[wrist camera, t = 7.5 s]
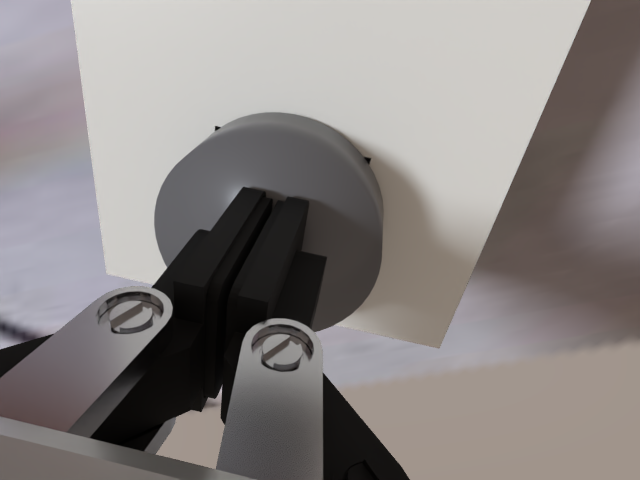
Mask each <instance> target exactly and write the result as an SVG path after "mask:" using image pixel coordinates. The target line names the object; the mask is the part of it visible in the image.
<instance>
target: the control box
mask: <svg viewBox="0 0 640 480" xmlns="http://www.w3.org/2000/svg"><path fill="white" fill-rule="evenodd" d="M590 2H591V0H71V6H72V13H73V21H74V29H75V36H76V44H77V52H78V59H79V67H80V75H81V82H82V90H83V97H84V105H85V113H86V120H87V128H88V136H89V143H90V151H91V159H92V166H93V174H94V182H95V189H96V197H97V205H98V212H99V220H100V228H101V235H102V243H103V251H104V258H105V266H106V274H109V275H113V276H117V277H122V278H126V279H131V280H135V281H140V282H144V283H149V284H153V285H154V284H155V283H156V281H157V280H158V279H159V278H160V276H161V275H162V274H163V273H164V271H165V270H166V269H167V266H166V265H165V263H164V261H163V258H162V256H161V253H160V251H159V248H158V244H157V240H156V236H155V227H154V211H155V206H156V200H157V197H158V194H159V191H160V188H161V186H162V184H163V182H164V181H165V179H166V177H167V175H168V174H169V173H170V171H171V170H172V169H173V168H174V166H175V165H176V164H177V163H178V162H179V161H181V160H182V159H183V158H184V157H185V156H186V155H187V154H188V153H190V152H191V151H192V150H193V149H194V148H196V147H197V146H198V145H199V144H200V143H202V142H203V141H204V140H205V139H206V138H208V137H209V136H210V135H211V134H212V133H214V132H215V131H216V130H217V129H219V128H221V127H222V126H224V125H225V124H227V123H229V122H231V121H233V120H235V119H238V118H241V117H244V116H248V115H251V114H257V113H265V112H282V113H289V114H296V115H299V116H303V117H307V118H310V119H313V120H315V121H317V122H320V123H322V124H324V125H326V126H328V127H329V128H331V129H333V130H335V131H336V132H338V133H339V134H340V135H342V136H343V137H344V138H346V139H347V140H348V141H349V142H350V143H351V144H352V145H353V146H354V147H355V148H356V149H357V150H358V151H359V152H360V153H361V154H362V156H363V157H364V158H365V160H366V161H367V162H368V164H369V166H370V167H371V169H372V171H373V173H374V174H375V177H376V179H377V182H378V184H379V187H380V191H381V195H382V199H383V209H384V218H383V243H382V262H381V267H380V272H379V275H378V278H377V281H376V283H375V286H374V287H373V289H372V291H371V293H370V294H369V296H368V297H367V299H366V300H365V301H364V302H363V304H362V305H361V306H360V307H359V308H358V309H357V310H356V311H355V312H353V313H352V314H351V315H350V316H348V317H347V318H345V319H344V320H343V321H341V322H339V323H337V324H335V325H337V326H341V327H346V328H350V329H355V330H359V331H364V332H368V333H372V334H377V335H381V336H386V337H390V338H395V339H399V340H404V341H408V342H413V343H417V344H422V345H426V346H431V347H435V348H440V346H441V343H442V341H443V339H444V337H445V334H446V332H447V330H448V327H449V325H450V323H451V320H452V318H453V316H454V314H455V311H456V309H457V307H458V304H459V302H460V300H461V298H462V295H463V293H464V291H465V288H466V286H467V284H468V281H469V279H470V277H471V275H472V272H473V270H474V268H475V265H476V263H477V261H478V259H479V256H480V254H481V252H482V249H483V247H484V245H485V242H486V240H487V238H488V236H489V233H490V231H491V229H492V226H493V224H494V222H495V220H496V217H497V215H498V213H499V210H500V208H501V206H502V203H503V201H504V199H505V197H506V194H507V192H508V190H509V187H510V185H511V183H512V181H513V178H514V176H515V174H516V171H517V169H518V167H519V164H520V162H521V160H522V158H523V155H524V153H525V151H526V148H527V146H528V144H529V142H530V139H531V137H532V135H533V132H534V130H535V128H536V125H537V123H538V121H539V119H540V116H541V114H542V112H543V109H544V107H545V105H546V103H547V100H548V98H549V96H550V93H551V91H552V89H553V86H554V84H555V82H556V80H557V77H558V75H559V73H560V70H561V68H562V66H563V64H564V61H565V59H566V57H567V54H568V52H569V50H570V47H571V45H572V43H573V41H574V38H575V36H576V34H577V31H578V29H579V27H580V25H581V22H582V20H583V18H584V15H585V13H586V11H587V9H588V6H589V4H590Z"/></svg>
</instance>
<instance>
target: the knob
mask: <svg viewBox="0 0 640 480" xmlns="http://www.w3.org/2000/svg"><path fill="white" fill-rule="evenodd" d="M243 187H247V188H252V189H256V190H261V191H265V192H266V197H267V198H271V199H272V200H273V204H272V210H273V208H274V207H275V205H276V203H277V201H278V200H281V201H285V200H286V198H287V197H288V196H289V197H294V198H298V199H303V200H308V201H309V209H308V215H307V221H306V227H305V233H304V239H303V245H302V251H303V252H308V253H313V254H317V255H322V256H326V257H327V261H326V266H325V271H324V276H323V281H322V286H321V290H320V295H319V300H318V304H317V308H316V313H315V317H314V321H313V325H312V329H311V330H312V331H313V332H317V331H320V330H323V329H326V328H328V327H331V326H333V325H335V324H337V323H339V322H341V321H343V320H344V319H345V318H347V317H348V316H350V315H351V314H352V313H353V312H355V311H356V310H357V309H358V308H359V307H360V306H361V305H362V304H363V302H364V301H365V300H366V299H367V297H368V296H369V294H370V293H371V291H372V289H373V287H374V286H375V283H376V281H377V278H378V275H379V272H380V267H381V262H382V243H383V218H384V209H383V199H382V195H381V191H380V187H379V184H378V182H377V179H376V177H375V174H374V173H373V171H372V169H371V167H370V166H369V164H368V162H367V161H366V160H365V158H364V157H363V156H362V154H361V153H360V152H359V151H358V150H357V149H356V148H355V147H354V146H353V145H352V144H351V143H350V142H349V141H348V140H347V139H346V138H344V137H343V136H342V135H340V134H339V133H338V132H336V131H335V130H333V129H331V128H329V127H328V126H326V125H324V124H322V123H320V122H317V121H315V120H313V119H310V118H307V117H303V116H299V115H296V114H289V113H282V112H265V113H257V114H251V115H248V116H244V117H241V118H238V119H235V120H233V121H231V122H229V123H227V124H225V125H224V126H222V127H221V128H219V129H217V130H216V131H215V132H214V133H212V134H211V135H210V136H209V137H208V138H206V139H205V140H204V141H203V142H202V143H200V144H199V145H198V146H197V147H196V148H194V149H193V150H192V151H191V152H190V153H188V154H187V155H186V156H185V157H184V158H183V159H182V160H181V161H179V162H178V163H177V164H176V165H175V166H174V168H173V169H172V170H171V171H170V173H169V174H168V175H167V177H166V179H165V181H164V182H163V184H162V186H161V188H160V191H159V194H158V197H157V200H156V206H155V211H154V227H155V236H156V240H157V244H158V248H159V251H160V253H161V256H162V258H163V261H164V263H165V265H166V266H167V268H168V266H169V265H170V264H171V262H172V261H173V260H174V259H175V257H176V256H177V255H178V254H179V252H180V251H181V250H182V249H183V247H184V246H185V245H186V244H187V242H188V241H189V240H190V239H191V237H192V236H193V235H194V233H195V232H196V231H197V230H199V229H203V230H208V231H211V229H212V228H213V226H214V225H215V224H216V222H217V221H218V220H219V218H220V217H221V216H222V214H223V213H224V212H225V210H226V209H227V208H228V206H229V205H230V203H231V202H232V201H233V199H234V198H235V197H236V195H237V194H238V193H239V191H240V190H241V189H242V188H243Z"/></svg>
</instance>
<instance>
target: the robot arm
mask: <svg viewBox="0 0 640 480" xmlns="http://www.w3.org/2000/svg"><path fill="white" fill-rule="evenodd" d="M272 204H273V200H272V199H271V198H267V197H266V192H265V191H261V190H256V189H252V188H247V187H243V188H242V189H241V190H240V191H239V193H238V194H237V195H236V197H235V198H234V199H233V201H232V202H231V203H230V205H229V206H228V208H227V209H226V210H225V212H224V213H223V214H222V216H221V217H220V218H219V220H218V221H217V222H216V224H215V225H214V226H213V228H212V229H211V231H208V230H203V229H199V230H197V231H196V232H195V233H194V235H193V236H192V237H191V239H190V240H189V241H188V242H187V244H186V245H185V246H184V247H183V249H182V250H181V251H180V252H179V254H178V255H177V256H176V257H175V259H174V260H173V261H172V262H171V264H170V265H169V266H168V268H167V269H166V270H165V271H164V273H163V274H162V275H161V276H160V278H159V279H158V280H157V281H156V283H155V284H154V285H153V286H152V288H149V287H144V286H130V287H124V288H119V289H116V290H113V291H111V292H108V293H106V294H104V295H103V296H101V297H100V298H98V299H97V300H95V301H94V302H93V303H92V304H90V305H89V306H88V307H87V308H86V309H84V310H83V311H82V312H81V313H79V314H78V315H77V316H76V317H75V318H73V319H72V320H71V321H70V322H68V323H67V324H66V325H65V326H63V327H62V328H61V329H60V330H59V331H57V332H56V333H55V334H52V335H48V336H45V337H41V338H38V339H34V340H31V341H28V342H24V343H21V344H17V345H14V346H11V347H7V348H4V349H0V480H410V479H409V478H408V476H407V475H406V473H405V472H404V470H403V469H402V467H401V466H400V464H399V463H398V462H397V461H396V460H395V458H394V457H393V456H392V455H391V454H390V453H389V451H388V450H387V449H386V448H385V446H384V445H383V444H382V443H381V442H380V440H379V439H378V438H377V437H376V436H375V434H374V433H373V432H372V431H371V430H370V428H368V426H367V425H366V424H365V423H364V421H363V420H362V419H361V418H360V416H359V415H358V414H357V413H356V412H355V410H354V409H353V408H352V407H351V406H350V404H349V403H348V402H347V401H346V400H345V398H344V397H343V396H342V395H341V394H340V392H339V391H338V390H337V389H336V388H335V386H334V385H333V384H332V383H331V382H330V380H329V379H328V378H327V377H326V376H325V374H324V373H323V350H322V345H321V341H320V340H319V338H318V337H317V335H316V333H315V332H313V331H312V330H311V329H312V325H313V321H314V317H315V313H316V308H317V304H318V300H319V295H320V290H321V286H322V281H323V276H324V271H325V266H326V261H327V257H326V256H322V255H317V254H313V253H308V252H303V251H302V245H303V239H304V233H305V227H306V221H307V215H308V209H309V201H308V200H303V199H298V198H294V197H289V196H288V197H287V198H286V200H285V201H281V200H278V201H277V203H276V205H275V207H274V208H273V210H272ZM222 384H223V385H222ZM221 386H222V402H221V419H222V421H223V423H224V424H225V428H224V433H223V437H222V442H221V447H220V452H219V456H218V461H217V466H216V469H212V468H208V467H204V466H200V465H196V464H192V463H188V462H184V461H180V460H176V459H172V458H168V457H163V456H159V455H155V454H156V453H157V451H158V450H159V448H160V447H161V445H162V444H163V442H164V441H165V440H166V438H167V437H168V435H169V434H170V432H171V430H172V428H173V426H174V424H175V420H176V417H177V416H179V415H181V414H183V413H185V412H188V411H190V410H195V411H199V412H202V409H203V407H204V405H205V403H206V401H207V398H208V397H209V398H214V399H215V398H216V397H217V395H218V393H219V391H220V389H221Z"/></svg>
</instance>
